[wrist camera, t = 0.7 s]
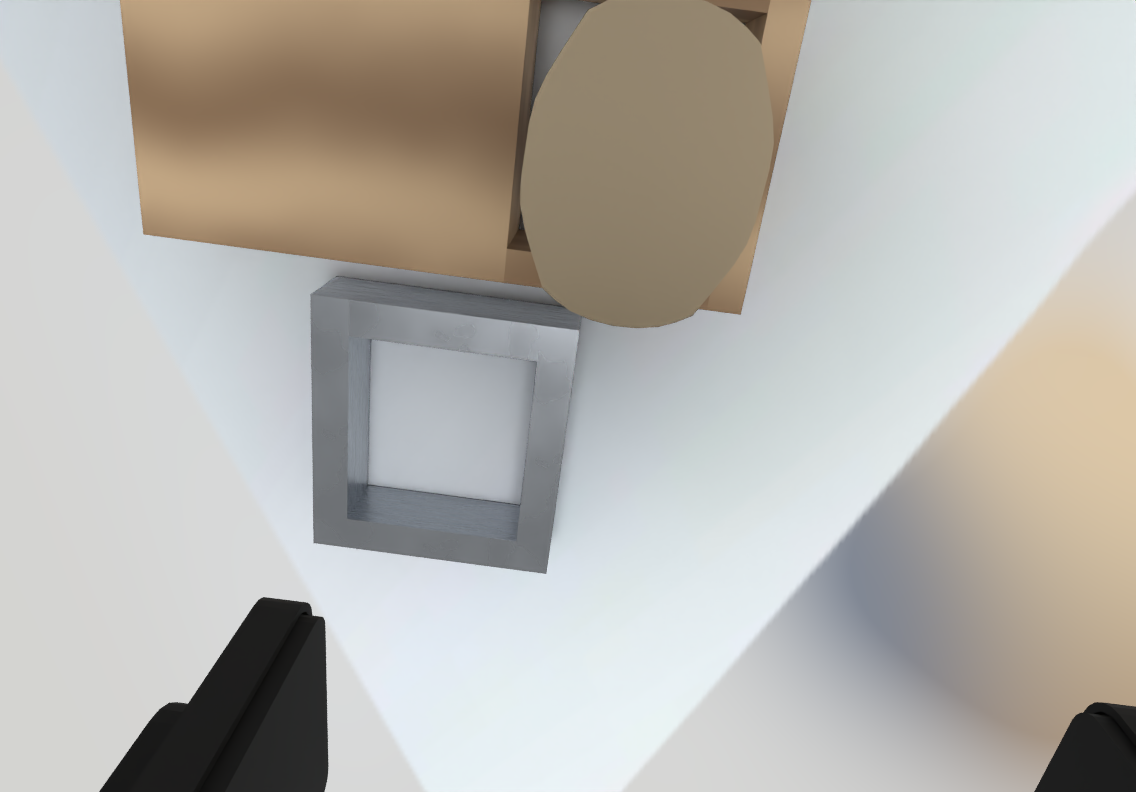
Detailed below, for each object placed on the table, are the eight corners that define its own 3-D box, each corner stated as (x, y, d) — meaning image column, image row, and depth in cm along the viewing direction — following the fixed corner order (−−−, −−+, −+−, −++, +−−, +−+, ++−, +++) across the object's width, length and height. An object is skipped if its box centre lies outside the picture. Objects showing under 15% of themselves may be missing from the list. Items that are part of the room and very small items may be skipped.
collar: (336, 276, 31) (310, 294, 29) (582, 309, 31) (579, 330, 29) (336, 507, 36) (313, 542, 33) (550, 536, 36) (546, 573, 33)
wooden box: (177, -94, 26) (107, -124, 23) (787, -12, 26) (817, -27, 23) (199, 216, 31) (143, 234, 27) (724, 287, 31) (740, 314, 27)
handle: (550, 204, 30) (502, 305, 16) (579, 28, 27) (550, -32, 13) (668, 225, 30) (721, 345, 16) (707, 53, 27) (810, 19, 14)
